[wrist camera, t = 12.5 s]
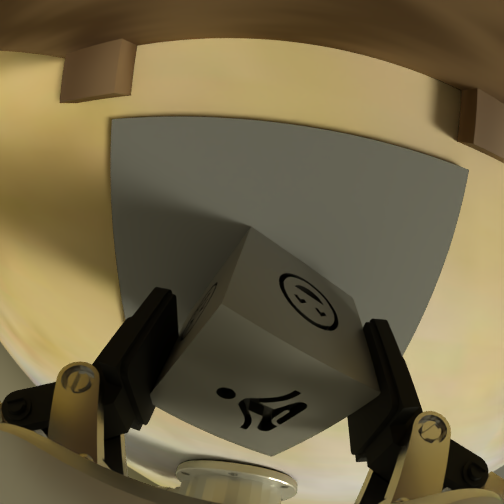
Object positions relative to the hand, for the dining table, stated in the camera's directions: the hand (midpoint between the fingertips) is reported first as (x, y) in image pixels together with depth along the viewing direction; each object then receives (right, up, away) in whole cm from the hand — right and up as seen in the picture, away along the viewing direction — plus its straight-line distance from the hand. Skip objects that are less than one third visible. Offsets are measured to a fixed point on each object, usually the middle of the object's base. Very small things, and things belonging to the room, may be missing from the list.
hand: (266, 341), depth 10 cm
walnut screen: (+1, +11, -2) cm, 11 cm away
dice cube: (0, +1, +2) cm, 2 cm away
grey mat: (0, +1, +2) cm, 3 cm away
